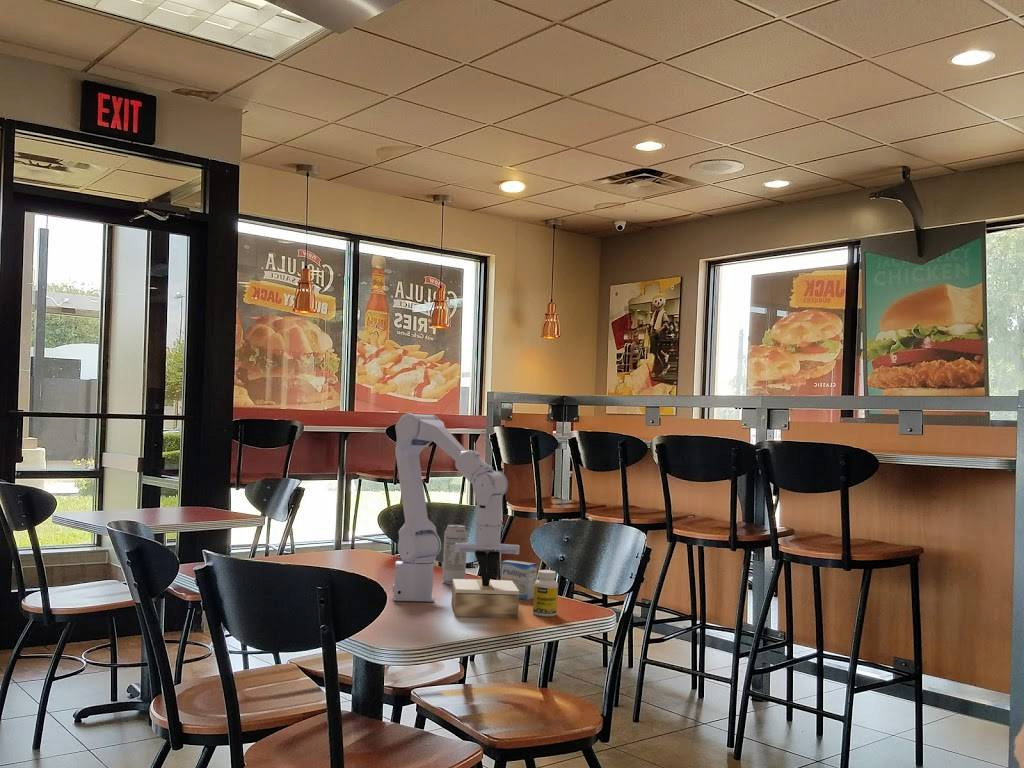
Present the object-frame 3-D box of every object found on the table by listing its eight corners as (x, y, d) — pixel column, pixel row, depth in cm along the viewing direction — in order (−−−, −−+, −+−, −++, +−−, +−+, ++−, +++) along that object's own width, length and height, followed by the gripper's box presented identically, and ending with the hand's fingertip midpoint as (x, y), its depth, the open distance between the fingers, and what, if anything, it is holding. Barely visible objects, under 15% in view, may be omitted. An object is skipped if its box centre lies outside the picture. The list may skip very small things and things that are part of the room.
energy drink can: (466, 581, 251) (469, 525, 252) (462, 585, 245) (465, 527, 246) (444, 580, 252) (447, 523, 253) (440, 584, 246) (443, 526, 247)
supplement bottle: (533, 616, 211) (535, 572, 212) (532, 611, 217) (534, 568, 217) (557, 617, 212) (559, 573, 212) (555, 612, 217) (557, 569, 217)
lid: (455, 592, 207) (456, 588, 207) (452, 582, 221) (452, 578, 221) (519, 594, 209) (519, 590, 209) (511, 584, 223) (511, 580, 223)
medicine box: (499, 596, 233) (501, 561, 234) (507, 593, 237) (509, 559, 238) (527, 600, 230) (529, 564, 230) (535, 598, 234) (537, 562, 234)
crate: (454, 616, 207) (455, 593, 207) (451, 603, 221) (452, 582, 221) (517, 618, 208) (519, 595, 209) (510, 605, 222) (511, 584, 223)
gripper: (457, 525, 209) (454, 587, 209) (522, 528, 211) (519, 589, 210) (455, 522, 216) (452, 581, 216) (518, 524, 218) (515, 583, 217)
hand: (485, 585), depth 214 cm, fingers closed
